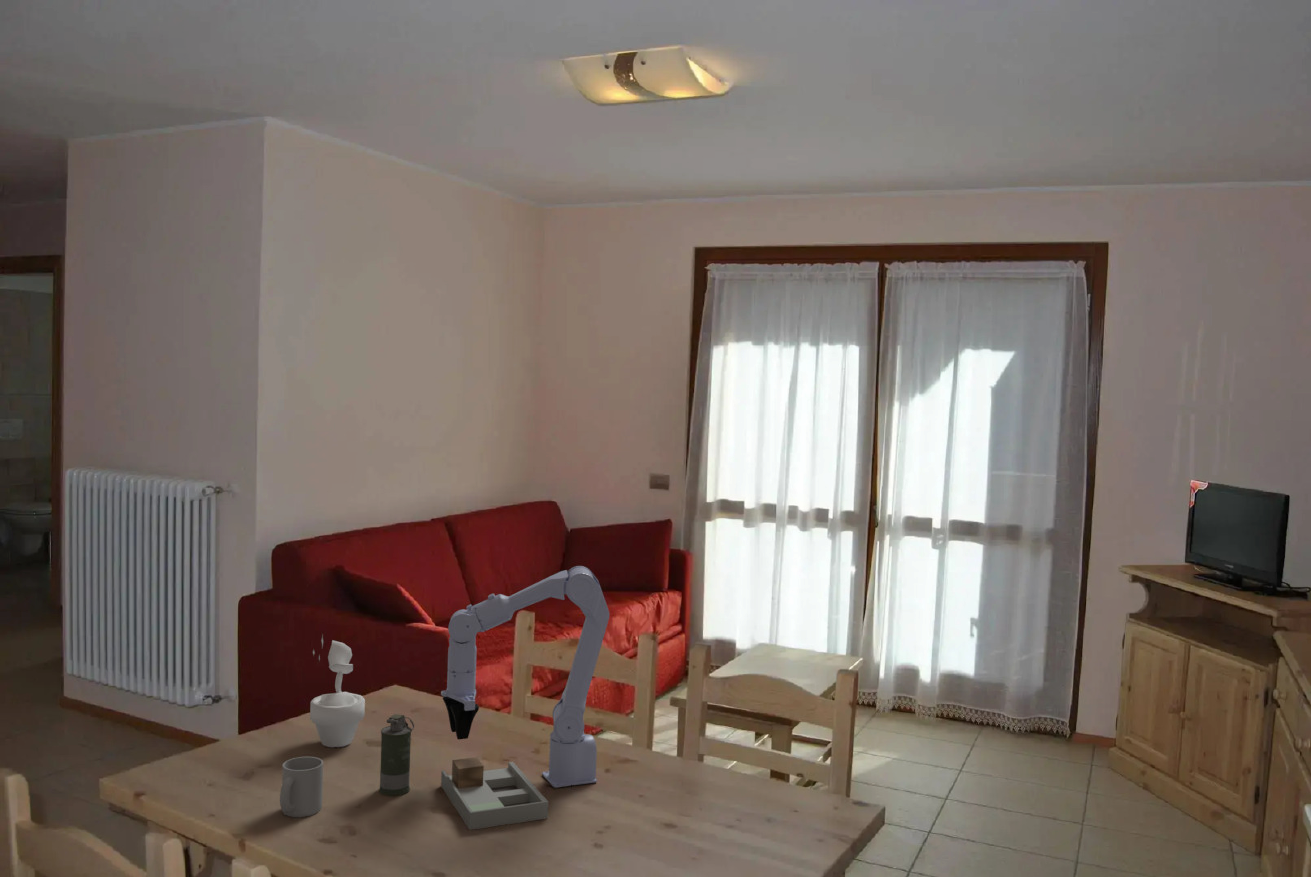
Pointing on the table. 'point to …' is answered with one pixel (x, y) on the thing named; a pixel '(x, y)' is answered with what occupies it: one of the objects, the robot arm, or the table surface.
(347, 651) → the potted plant
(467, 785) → the block
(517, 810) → the tray
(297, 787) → the cup
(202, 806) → the table surface
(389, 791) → the grenade
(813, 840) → the table surface
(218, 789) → the table surface
